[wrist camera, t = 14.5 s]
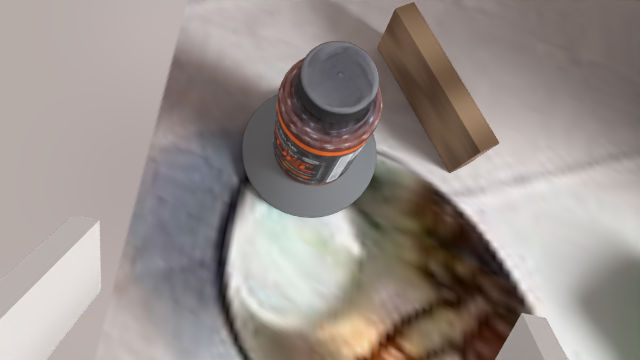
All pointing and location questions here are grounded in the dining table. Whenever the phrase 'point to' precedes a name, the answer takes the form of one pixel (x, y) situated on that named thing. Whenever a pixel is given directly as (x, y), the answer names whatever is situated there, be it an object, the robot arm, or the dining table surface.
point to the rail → (434, 89)
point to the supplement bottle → (326, 112)
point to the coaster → (289, 192)
